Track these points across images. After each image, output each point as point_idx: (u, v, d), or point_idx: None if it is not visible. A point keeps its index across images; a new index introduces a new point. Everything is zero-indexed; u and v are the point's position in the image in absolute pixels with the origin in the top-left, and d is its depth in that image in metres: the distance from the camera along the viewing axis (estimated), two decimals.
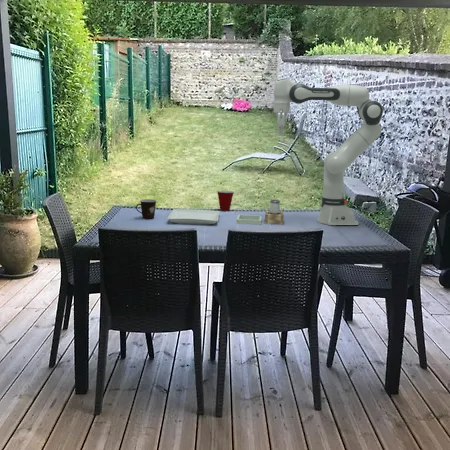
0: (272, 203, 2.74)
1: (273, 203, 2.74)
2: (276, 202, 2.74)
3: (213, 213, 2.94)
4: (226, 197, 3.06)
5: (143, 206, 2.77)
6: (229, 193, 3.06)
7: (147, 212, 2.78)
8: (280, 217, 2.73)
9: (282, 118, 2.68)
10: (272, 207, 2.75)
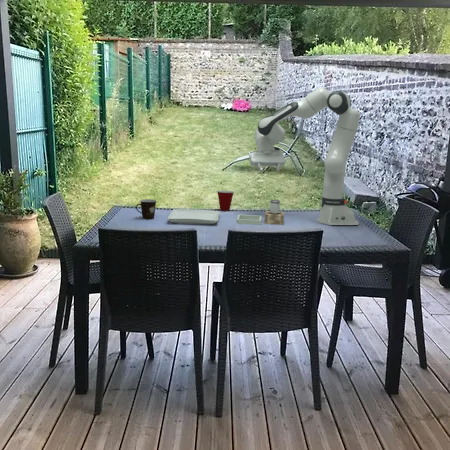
0: (272, 203, 2.74)
1: (273, 203, 2.74)
2: (276, 202, 2.74)
3: (213, 213, 2.94)
4: (226, 197, 3.06)
5: (143, 206, 2.77)
6: (229, 193, 3.06)
7: (147, 212, 2.78)
8: (280, 217, 2.73)
9: (250, 157, 2.86)
10: (272, 207, 2.75)
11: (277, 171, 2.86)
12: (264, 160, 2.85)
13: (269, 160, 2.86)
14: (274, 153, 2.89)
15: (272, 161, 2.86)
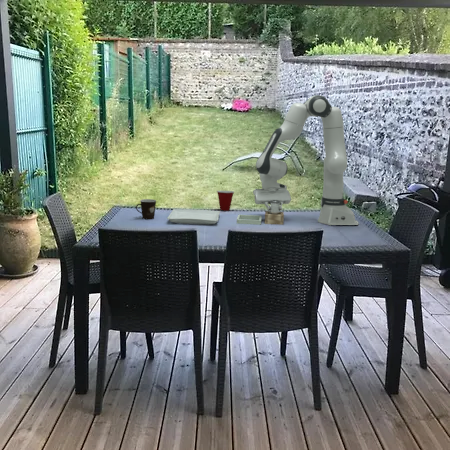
0: (272, 203, 2.74)
1: (273, 203, 2.74)
2: (276, 202, 2.74)
3: (213, 213, 2.94)
4: (226, 197, 3.06)
5: (143, 206, 2.77)
6: (229, 193, 3.06)
7: (147, 212, 2.78)
8: (280, 217, 2.73)
9: (255, 195, 2.78)
10: (272, 207, 2.75)
11: (280, 209, 2.78)
12: (269, 198, 2.77)
13: (275, 198, 2.78)
14: (279, 191, 2.81)
15: (277, 199, 2.78)
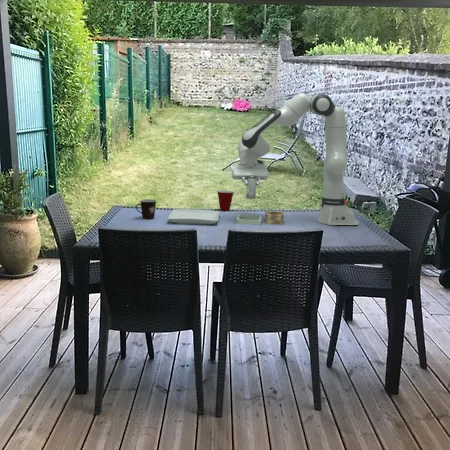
0: (249, 178, 2.71)
1: (250, 178, 2.71)
2: (253, 177, 2.71)
3: (213, 213, 2.94)
4: (226, 197, 3.06)
5: (143, 206, 2.77)
6: (229, 193, 3.06)
7: (147, 212, 2.78)
8: (280, 217, 2.73)
9: (232, 170, 2.75)
10: (249, 182, 2.72)
11: (257, 185, 2.74)
12: (246, 174, 2.74)
13: (252, 173, 2.75)
14: (257, 166, 2.78)
15: (255, 175, 2.75)
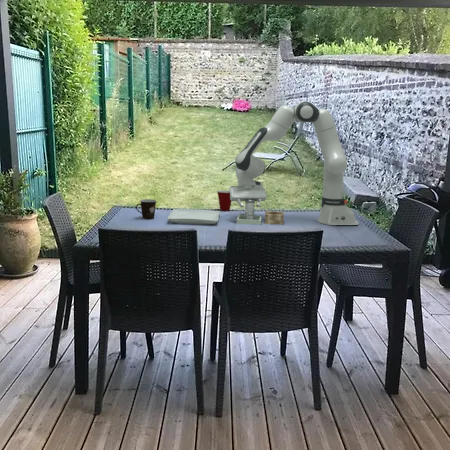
0: (247, 202, 2.74)
1: (248, 202, 2.74)
2: (251, 201, 2.74)
3: (213, 213, 2.94)
4: (226, 197, 3.06)
5: (143, 206, 2.77)
6: (229, 193, 3.06)
7: (147, 212, 2.78)
8: (280, 217, 2.73)
9: (230, 192, 2.78)
10: (247, 206, 2.75)
11: None
12: (244, 195, 2.77)
13: (250, 195, 2.78)
14: (255, 188, 2.80)
15: (253, 196, 2.78)
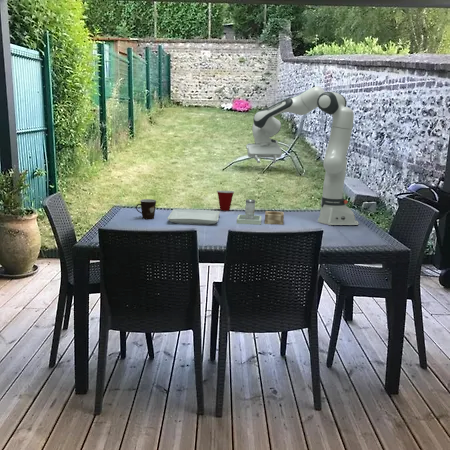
0: (247, 203, 2.74)
1: (248, 203, 2.74)
2: (251, 202, 2.73)
3: (213, 213, 2.94)
4: (226, 197, 3.06)
5: (143, 206, 2.77)
6: (229, 193, 3.06)
7: (147, 212, 2.78)
8: (280, 217, 2.73)
9: (248, 149, 2.95)
10: (247, 207, 2.75)
11: (274, 162, 2.95)
12: (261, 152, 2.94)
13: (266, 151, 2.95)
14: (271, 145, 2.98)
15: (269, 153, 2.95)
